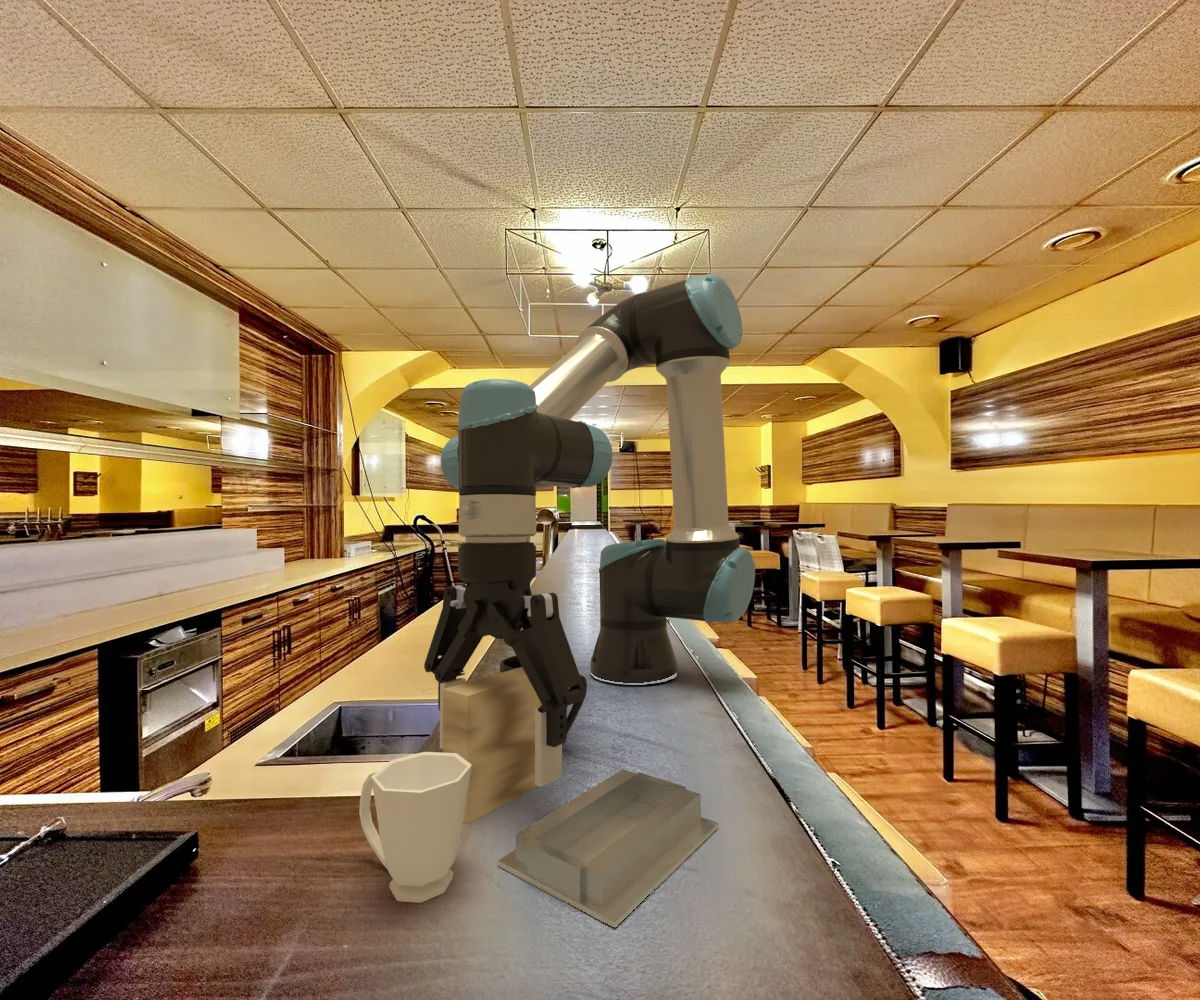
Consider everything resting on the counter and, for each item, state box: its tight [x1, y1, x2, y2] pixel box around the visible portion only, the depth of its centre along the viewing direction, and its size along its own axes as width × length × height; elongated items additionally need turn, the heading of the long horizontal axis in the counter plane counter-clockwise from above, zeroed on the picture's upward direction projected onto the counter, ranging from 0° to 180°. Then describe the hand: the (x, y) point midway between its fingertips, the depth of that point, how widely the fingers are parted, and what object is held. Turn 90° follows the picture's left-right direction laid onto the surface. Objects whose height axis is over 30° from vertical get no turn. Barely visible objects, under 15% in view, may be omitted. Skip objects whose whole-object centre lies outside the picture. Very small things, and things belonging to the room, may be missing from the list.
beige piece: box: [497, 769, 719, 929], centre depth 45 cm, size 15×11×3 cm
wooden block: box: [442, 667, 542, 825], centre depth 54 cm, size 10×4×11 cm, turn 142°
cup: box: [358, 751, 472, 904], centre depth 41 cm, size 7×10×8 cm
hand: (497, 761), depth 54 cm, fingers open, 13 cm apart
